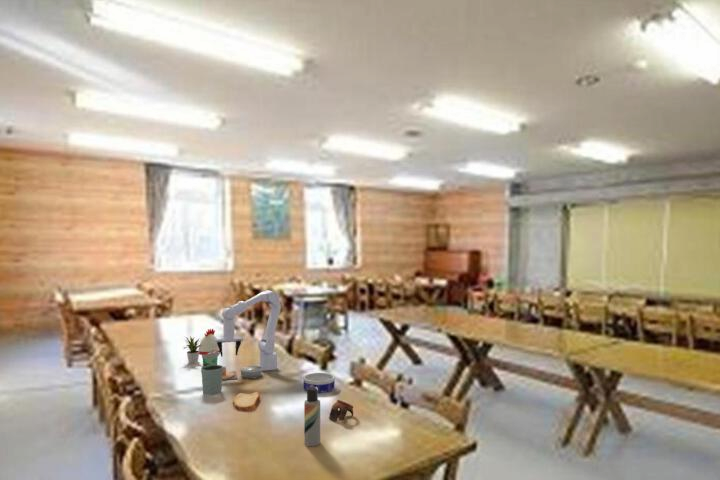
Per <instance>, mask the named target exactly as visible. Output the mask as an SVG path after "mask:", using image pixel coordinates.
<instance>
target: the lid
mask: <svg viewBox="0 0 720 480" xmlns="http://www.w3.org/2000/svg"><path fill="white" fill-rule="evenodd" d="M222 366H223V365H222ZM234 376H235V373H233V372H232V371H227V366H223V373H222V379H229V378H232V377H234Z"/></svg>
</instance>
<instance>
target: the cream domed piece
mask: <svg viewBox="0 0 720 480" xmlns="http://www.w3.org/2000/svg"><path fill="white" fill-rule="evenodd" d="M205 332H206V333H204V336H203V337H202V340H201V339H200V340H201V341H200V342H199V345H201V346H199V347H198V348H197V351H199V355H202V354H207V353H210V352H212V350H217V351H218V353H219V354H220V353H221V352H220V349H219V347H218V345H217V343H215V339H218V338H217V337H216V336H215V333H216V330H215V329H214V328H210V329H207V331H205ZM202 346H203V347H202Z"/></svg>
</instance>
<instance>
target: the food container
mask: <svg viewBox="0 0 720 480" xmlns="http://www.w3.org/2000/svg"><path fill="white" fill-rule="evenodd" d="M201 355H202V356H201V358H202V367H204V366H208V365H218V357H219V356H220V352H219V353H218V351H217V350H212V352H210V353H207V354H201Z"/></svg>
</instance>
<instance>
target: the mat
mask: <svg viewBox="0 0 720 480" xmlns="http://www.w3.org/2000/svg"><path fill="white" fill-rule="evenodd" d="M231 372H233V373H235V376H234V377H232V378H229V379H222V381H229V380H230V381H232V380H238V374H237V371H235V370H233V371H231Z"/></svg>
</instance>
